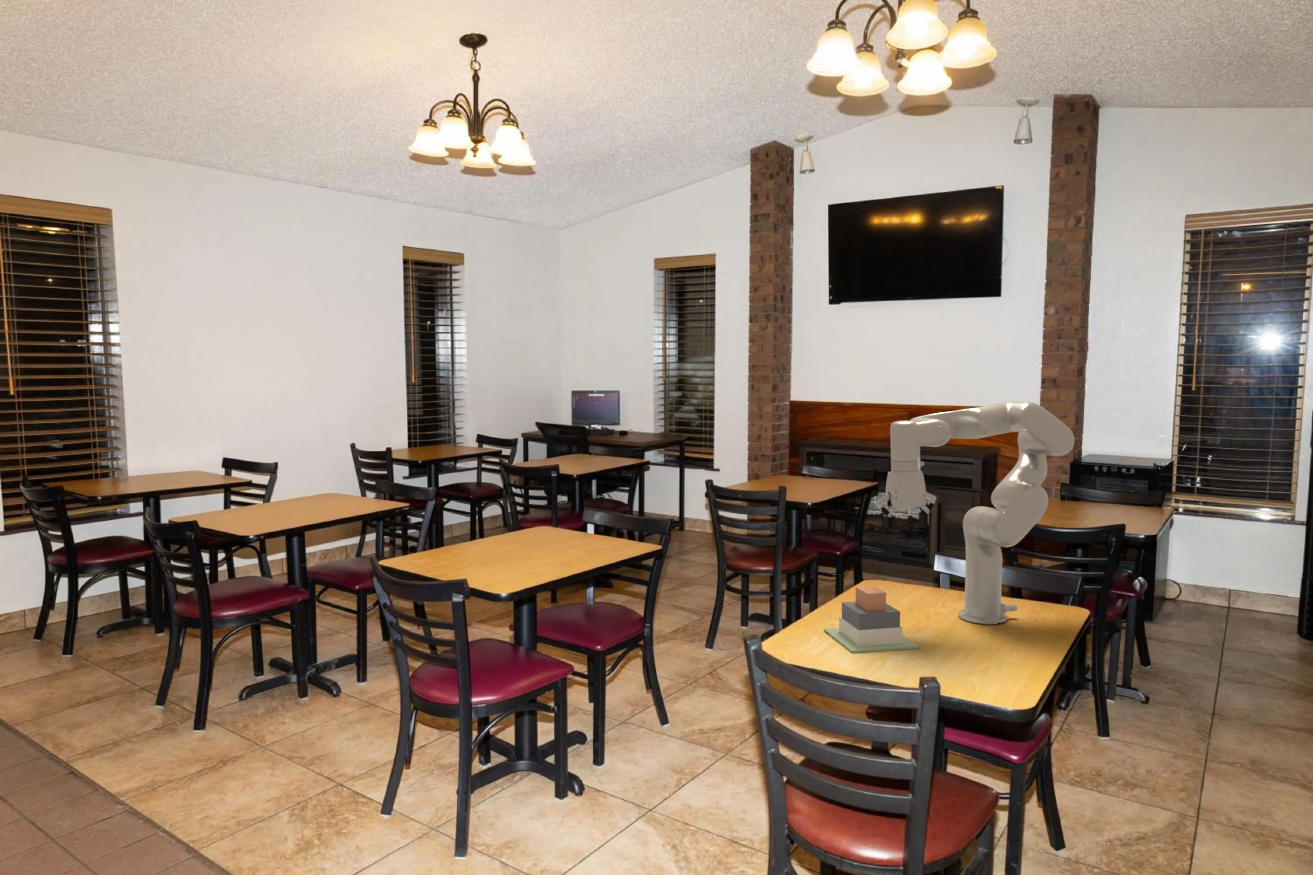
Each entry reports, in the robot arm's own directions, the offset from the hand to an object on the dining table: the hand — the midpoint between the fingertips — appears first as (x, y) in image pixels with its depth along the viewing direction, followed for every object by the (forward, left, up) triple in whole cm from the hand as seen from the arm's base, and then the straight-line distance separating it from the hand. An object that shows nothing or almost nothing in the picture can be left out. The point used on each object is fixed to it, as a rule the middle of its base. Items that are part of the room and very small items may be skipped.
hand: (906, 529), depth 222 cm
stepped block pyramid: (+15, +9, -27) cm, 32 cm away
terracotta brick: (+14, +9, -18) cm, 25 cm away
